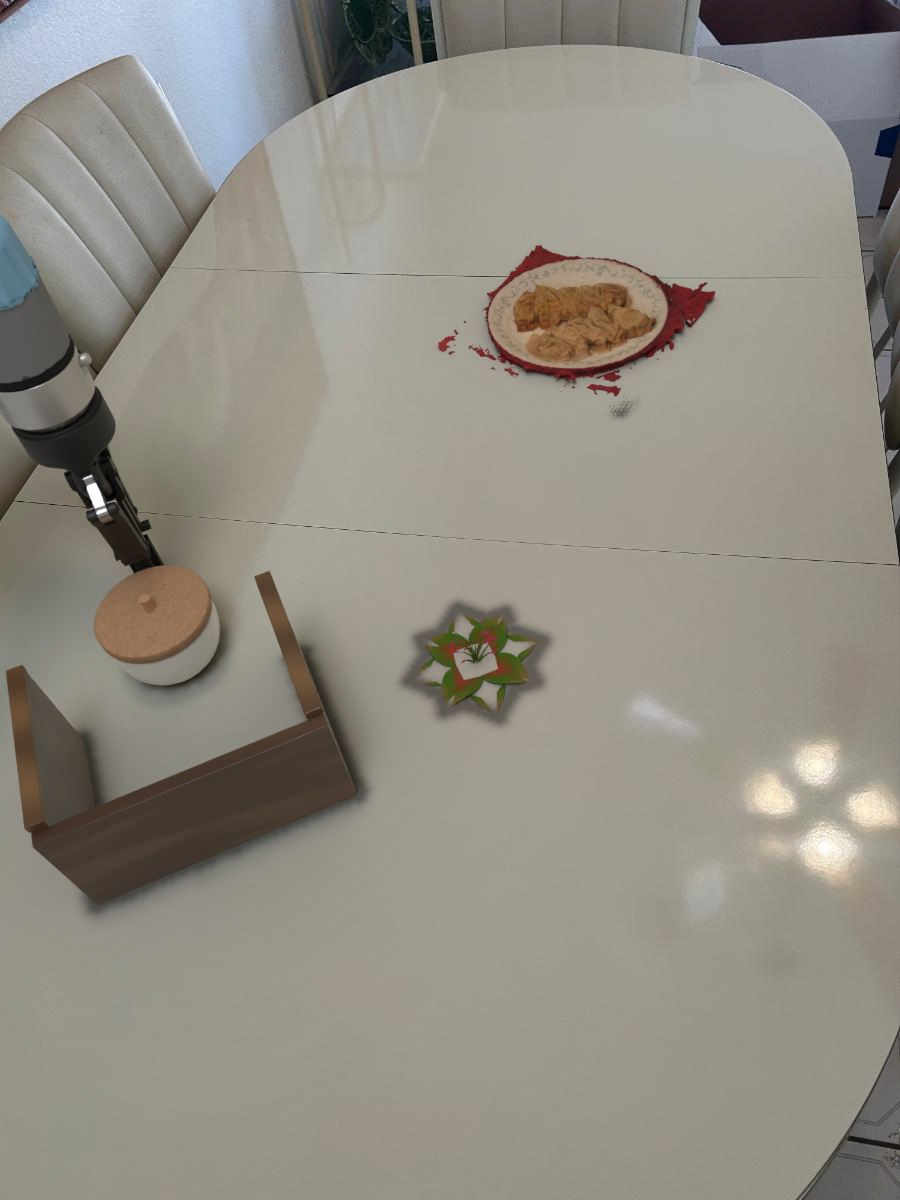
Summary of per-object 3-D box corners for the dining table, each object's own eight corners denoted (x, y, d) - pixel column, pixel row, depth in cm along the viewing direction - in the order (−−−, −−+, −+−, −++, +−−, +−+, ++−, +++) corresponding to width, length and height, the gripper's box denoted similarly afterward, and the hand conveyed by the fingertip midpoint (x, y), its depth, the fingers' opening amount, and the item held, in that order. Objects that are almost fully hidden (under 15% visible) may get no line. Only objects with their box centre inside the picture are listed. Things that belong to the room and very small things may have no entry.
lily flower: (505, 740, 81) (501, 712, 77) (388, 692, 85) (379, 663, 82) (563, 638, 87) (562, 608, 83) (451, 597, 91) (445, 567, 88)
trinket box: (255, 634, 91) (226, 572, 84) (189, 720, 86) (152, 663, 79) (171, 601, 95) (137, 539, 88) (103, 682, 90) (60, 623, 83)
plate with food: (538, 257, 127) (537, 233, 124) (715, 301, 115) (717, 277, 112) (436, 357, 116) (432, 334, 114) (618, 417, 105) (618, 393, 102)
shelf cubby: (73, 748, 86) (5, 670, 76) (305, 656, 89) (269, 570, 79) (99, 909, 76) (25, 843, 66) (360, 798, 79) (326, 719, 69)
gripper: (111, 434, 72) (209, 617, 91) (86, 346, 80) (181, 531, 99) (16, 469, 71) (135, 647, 90) (0, 376, 79) (112, 557, 97)
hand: (159, 586), depth 94 cm, fingers closed
